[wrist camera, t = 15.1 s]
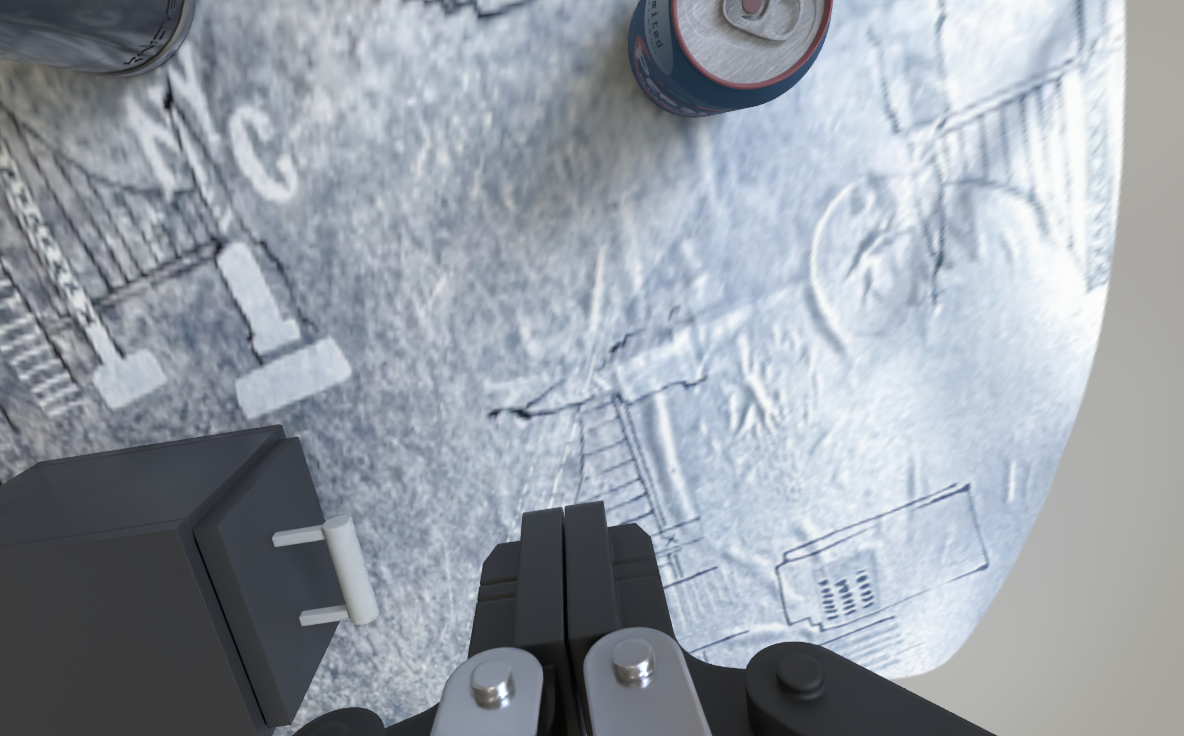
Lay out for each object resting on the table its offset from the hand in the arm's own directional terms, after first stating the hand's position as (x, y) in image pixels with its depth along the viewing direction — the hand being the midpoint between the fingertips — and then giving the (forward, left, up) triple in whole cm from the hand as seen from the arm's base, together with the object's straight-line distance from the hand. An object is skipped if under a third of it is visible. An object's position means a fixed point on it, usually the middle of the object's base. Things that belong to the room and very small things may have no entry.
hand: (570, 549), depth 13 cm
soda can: (-3, +13, -28) cm, 31 cm away
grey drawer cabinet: (-7, -28, -28) cm, 40 cm away
